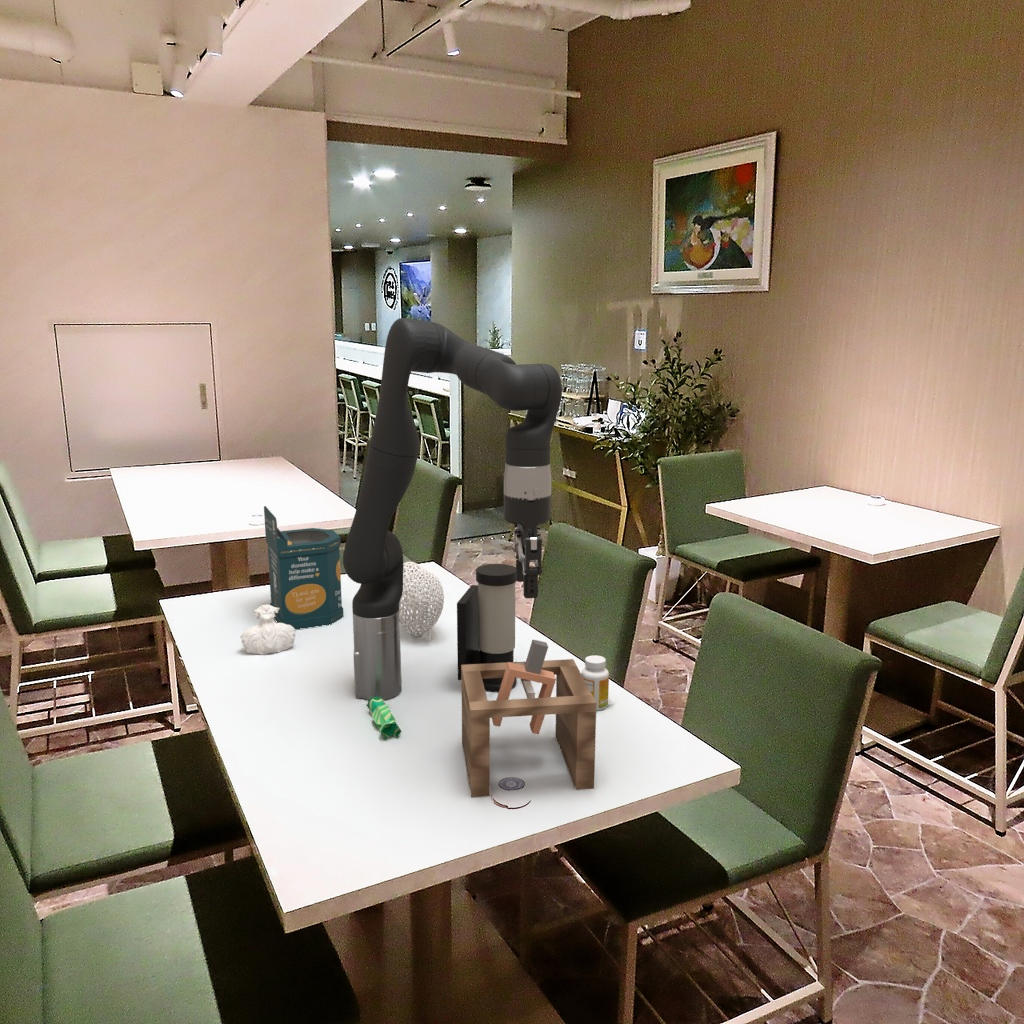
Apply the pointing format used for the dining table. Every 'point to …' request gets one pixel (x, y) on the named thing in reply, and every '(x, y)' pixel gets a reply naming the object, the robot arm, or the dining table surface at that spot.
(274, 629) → the bust
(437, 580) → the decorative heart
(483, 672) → the wooden frame stand
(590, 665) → the supplement bottle
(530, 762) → the dining table surface
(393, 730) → the candy
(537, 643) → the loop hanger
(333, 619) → the donation box
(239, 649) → the dining table surface
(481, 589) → the light fixture
